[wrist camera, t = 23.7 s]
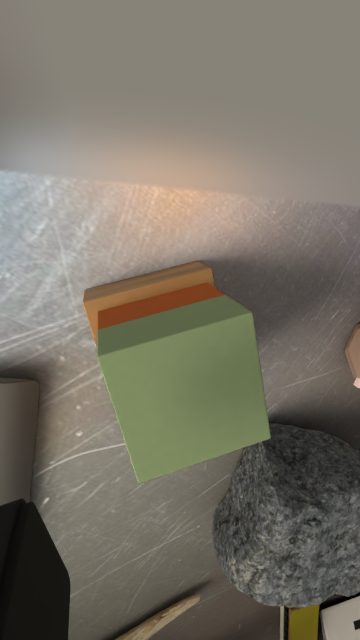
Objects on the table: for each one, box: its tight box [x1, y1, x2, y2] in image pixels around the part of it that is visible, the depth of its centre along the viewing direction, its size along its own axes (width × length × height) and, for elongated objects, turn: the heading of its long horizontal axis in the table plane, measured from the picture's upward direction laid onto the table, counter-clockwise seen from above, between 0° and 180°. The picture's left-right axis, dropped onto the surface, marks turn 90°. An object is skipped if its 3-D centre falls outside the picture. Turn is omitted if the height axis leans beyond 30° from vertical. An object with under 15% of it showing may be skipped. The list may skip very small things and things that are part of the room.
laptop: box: [320, 596, 360, 640], centre depth 35 cm, size 7×6×2 cm
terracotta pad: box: [98, 283, 225, 330], centre depth 18 cm, size 6×6×3 cm
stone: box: [212, 423, 360, 607], centre depth 25 cm, size 12×8×10 cm
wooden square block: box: [83, 261, 215, 346], centre depth 21 cm, size 7×7×3 cm
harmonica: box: [280, 605, 319, 640], centre depth 33 cm, size 15×3×2 cm, turn 5°
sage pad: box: [97, 295, 271, 484], centre depth 15 cm, size 6×6×3 cm
